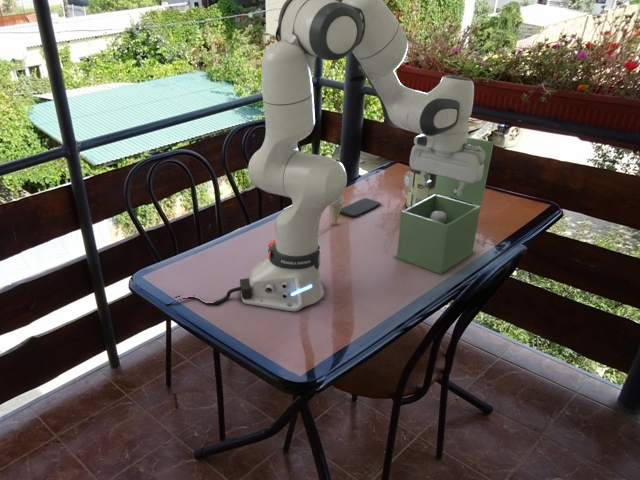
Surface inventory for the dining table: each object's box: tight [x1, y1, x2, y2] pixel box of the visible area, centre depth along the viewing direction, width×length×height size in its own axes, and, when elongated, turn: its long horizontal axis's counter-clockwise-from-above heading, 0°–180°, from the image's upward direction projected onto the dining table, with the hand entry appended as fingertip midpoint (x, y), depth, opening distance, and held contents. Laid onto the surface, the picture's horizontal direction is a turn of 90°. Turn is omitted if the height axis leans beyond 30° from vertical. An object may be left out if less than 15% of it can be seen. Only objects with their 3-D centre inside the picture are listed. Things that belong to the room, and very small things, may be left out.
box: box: [396, 194, 481, 275], centre depth 160 cm, size 17×15×15 cm
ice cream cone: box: [328, 194, 344, 225], centre depth 183 cm, size 5×5×15 cm
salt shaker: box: [430, 211, 447, 223], centre depth 160 cm, size 6×6×13 cm
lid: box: [434, 136, 495, 206], centre depth 157 cm, size 18×15×5 cm
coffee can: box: [406, 166, 439, 208], centre depth 191 cm, size 10×10×14 cm
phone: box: [339, 198, 381, 218], centre depth 195 cm, size 7×1×15 cm
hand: (441, 191), depth 153 cm, fingers open, 8 cm apart
